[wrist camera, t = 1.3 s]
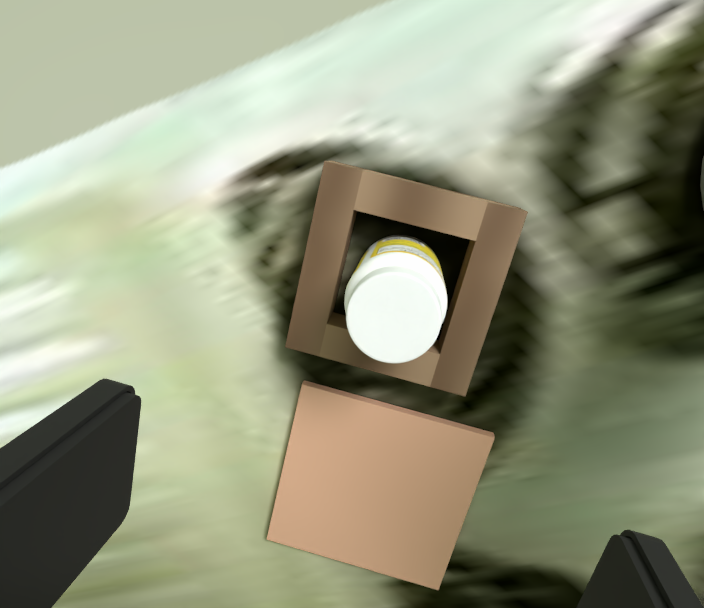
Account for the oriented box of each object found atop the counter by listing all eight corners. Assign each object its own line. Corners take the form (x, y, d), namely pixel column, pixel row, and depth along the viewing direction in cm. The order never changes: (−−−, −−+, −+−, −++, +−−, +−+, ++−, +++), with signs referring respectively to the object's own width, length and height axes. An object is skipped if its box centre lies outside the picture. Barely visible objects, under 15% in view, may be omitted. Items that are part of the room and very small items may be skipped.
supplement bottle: (389, 329, 30) (378, 392, 22) (341, 265, 29) (312, 306, 21) (458, 284, 29) (473, 334, 21) (410, 216, 28) (407, 240, 20)
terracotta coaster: (493, 432, 31) (494, 437, 30) (437, 583, 34) (438, 590, 34) (304, 380, 32) (301, 384, 31) (268, 533, 35) (266, 539, 35)
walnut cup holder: (519, 207, 27) (527, 212, 25) (462, 379, 30) (464, 396, 28) (331, 160, 28) (324, 160, 26) (294, 334, 31) (285, 347, 29)
